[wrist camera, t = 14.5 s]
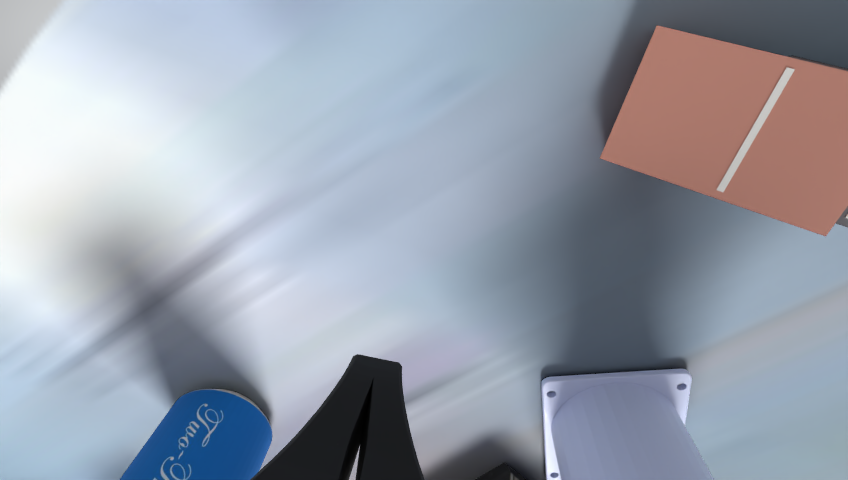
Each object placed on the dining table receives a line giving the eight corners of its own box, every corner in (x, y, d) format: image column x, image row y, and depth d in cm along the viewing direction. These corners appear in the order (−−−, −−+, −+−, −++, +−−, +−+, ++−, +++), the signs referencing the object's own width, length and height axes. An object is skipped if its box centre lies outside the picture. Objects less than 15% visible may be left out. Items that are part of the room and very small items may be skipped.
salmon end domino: (599, 158, 18) (826, 236, 16) (656, 25, 16) (932, 91, 14) (605, 150, 20) (810, 219, 18) (658, 29, 18) (902, 88, 15)
